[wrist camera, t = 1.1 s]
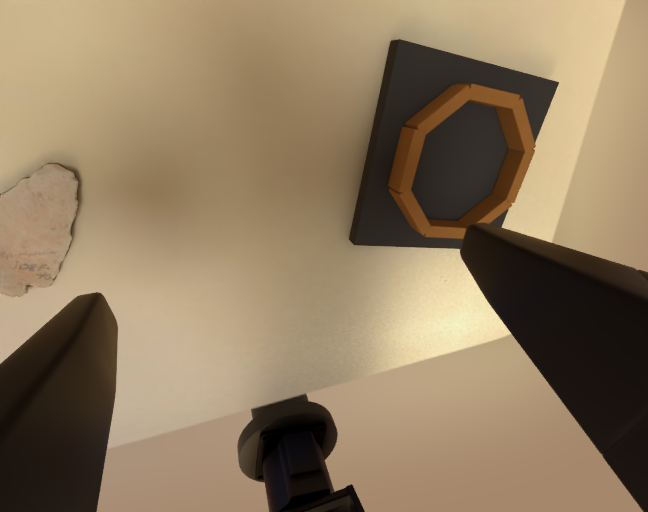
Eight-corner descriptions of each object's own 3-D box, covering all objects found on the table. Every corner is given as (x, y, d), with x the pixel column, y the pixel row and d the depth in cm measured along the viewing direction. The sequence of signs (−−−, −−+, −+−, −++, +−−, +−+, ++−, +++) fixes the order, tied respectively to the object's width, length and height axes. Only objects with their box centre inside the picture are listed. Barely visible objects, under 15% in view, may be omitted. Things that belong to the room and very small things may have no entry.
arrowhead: (42, 302, 19) (11, 317, 17) (-23, 264, 19) (-62, 275, 17) (108, 189, 18) (83, 192, 16) (40, 144, 17) (5, 141, 15)
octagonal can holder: (483, 244, 28) (506, 258, 26) (348, 239, 24) (362, 255, 22) (546, 82, 23) (581, 82, 21) (390, 40, 19) (414, 35, 17)
